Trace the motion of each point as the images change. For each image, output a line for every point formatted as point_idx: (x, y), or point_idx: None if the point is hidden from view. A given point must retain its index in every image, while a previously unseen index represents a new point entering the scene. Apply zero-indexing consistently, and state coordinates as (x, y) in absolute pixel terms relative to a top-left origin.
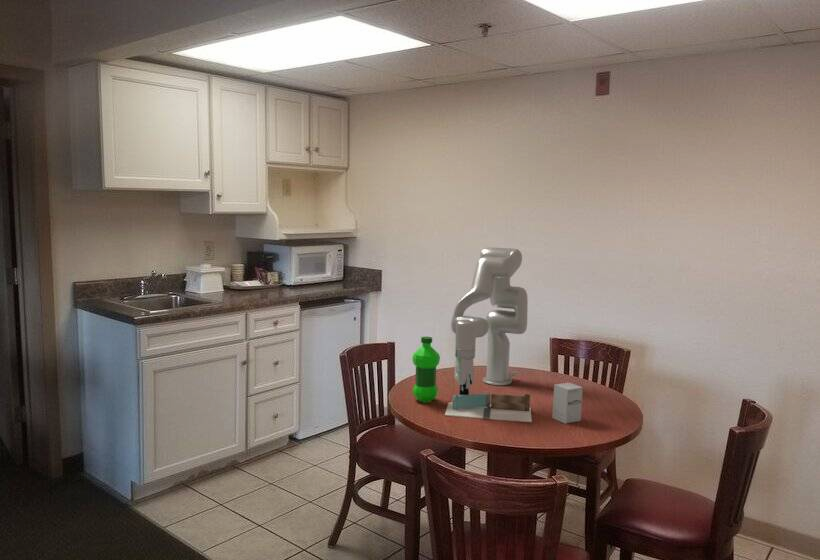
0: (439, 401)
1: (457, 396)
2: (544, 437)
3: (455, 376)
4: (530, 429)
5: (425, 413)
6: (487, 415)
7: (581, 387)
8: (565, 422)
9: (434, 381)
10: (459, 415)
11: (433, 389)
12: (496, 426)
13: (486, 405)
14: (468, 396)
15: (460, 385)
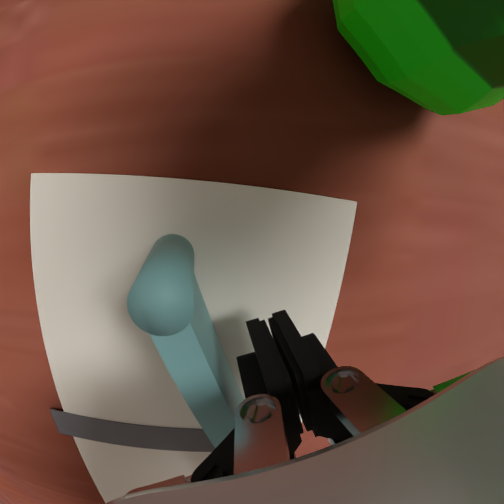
0: (383, 129)
1: (147, 329)
2: (17, 495)
3: (501, 416)
4: (49, 496)
5: (82, 27)
6: (101, 434)
7: None
8: None
9: (496, 42)
10: (40, 287)
11: (412, 40)
12: (9, 430)
13: None
14: (203, 421)
15: (343, 414)
